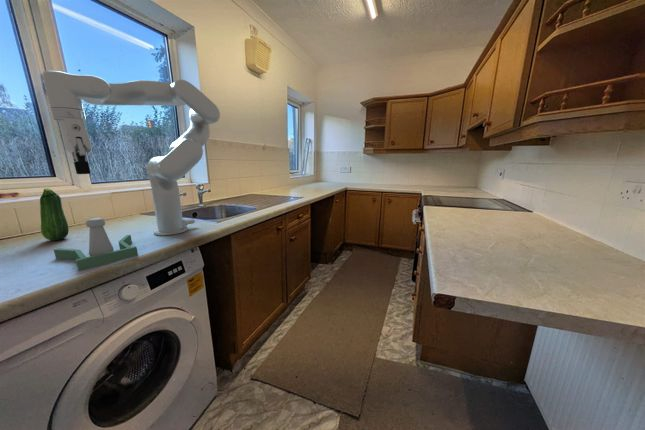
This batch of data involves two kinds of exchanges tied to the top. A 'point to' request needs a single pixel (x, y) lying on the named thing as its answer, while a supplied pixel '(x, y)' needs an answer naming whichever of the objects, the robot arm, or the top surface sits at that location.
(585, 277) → the top surface
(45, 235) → the vegetable
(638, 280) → the top surface
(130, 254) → the green angled channel piece
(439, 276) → the top surface
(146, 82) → the robot arm
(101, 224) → the salt shaker
